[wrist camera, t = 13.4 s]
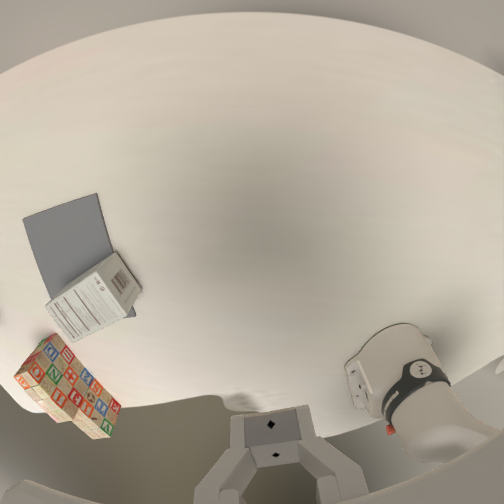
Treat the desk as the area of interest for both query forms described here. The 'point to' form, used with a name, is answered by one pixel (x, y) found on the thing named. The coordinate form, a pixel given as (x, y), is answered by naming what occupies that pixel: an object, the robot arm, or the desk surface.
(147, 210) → the desk surface
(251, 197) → the desk surface
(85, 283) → the supplement box
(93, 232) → the mat
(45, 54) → the desk surface
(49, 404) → the stack of blocks
